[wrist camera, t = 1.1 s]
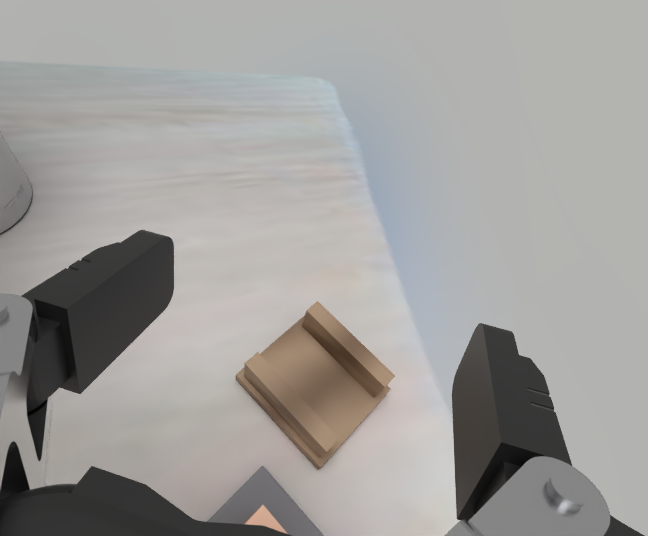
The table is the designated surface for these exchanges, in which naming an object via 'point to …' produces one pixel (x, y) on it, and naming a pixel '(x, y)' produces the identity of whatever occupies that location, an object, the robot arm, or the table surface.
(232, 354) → the table surface
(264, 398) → the slotted rack
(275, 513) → the rubber mat
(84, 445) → the table surface
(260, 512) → the tall salmon pink block
